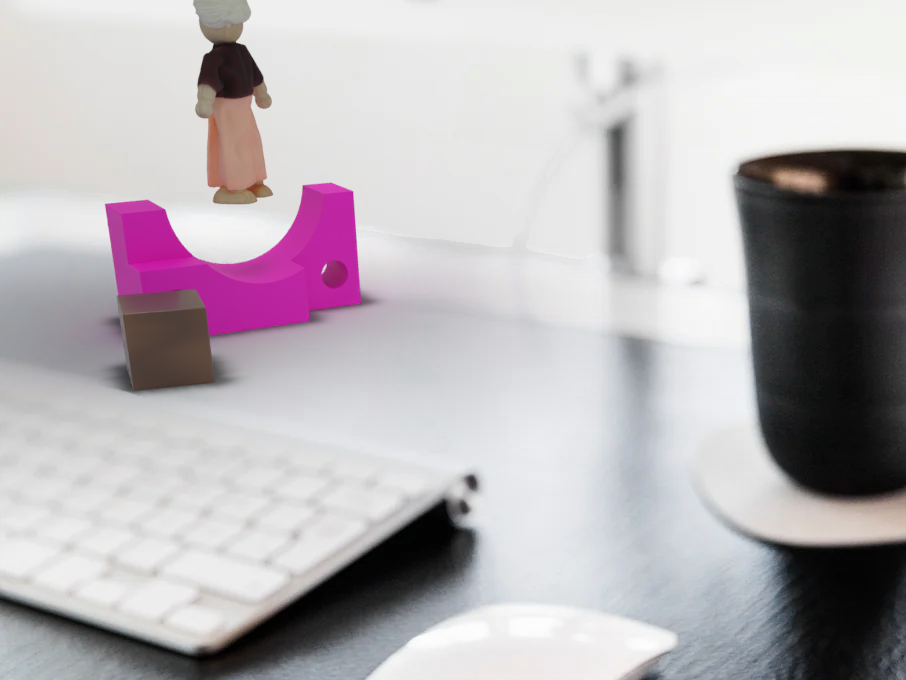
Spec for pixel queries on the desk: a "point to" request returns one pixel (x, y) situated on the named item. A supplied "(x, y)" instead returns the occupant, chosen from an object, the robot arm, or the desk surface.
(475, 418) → the desk surface
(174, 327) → the walnut cube
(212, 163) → the grandmother figurine
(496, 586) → the desk surface
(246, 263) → the toy block
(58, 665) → the desk surface
